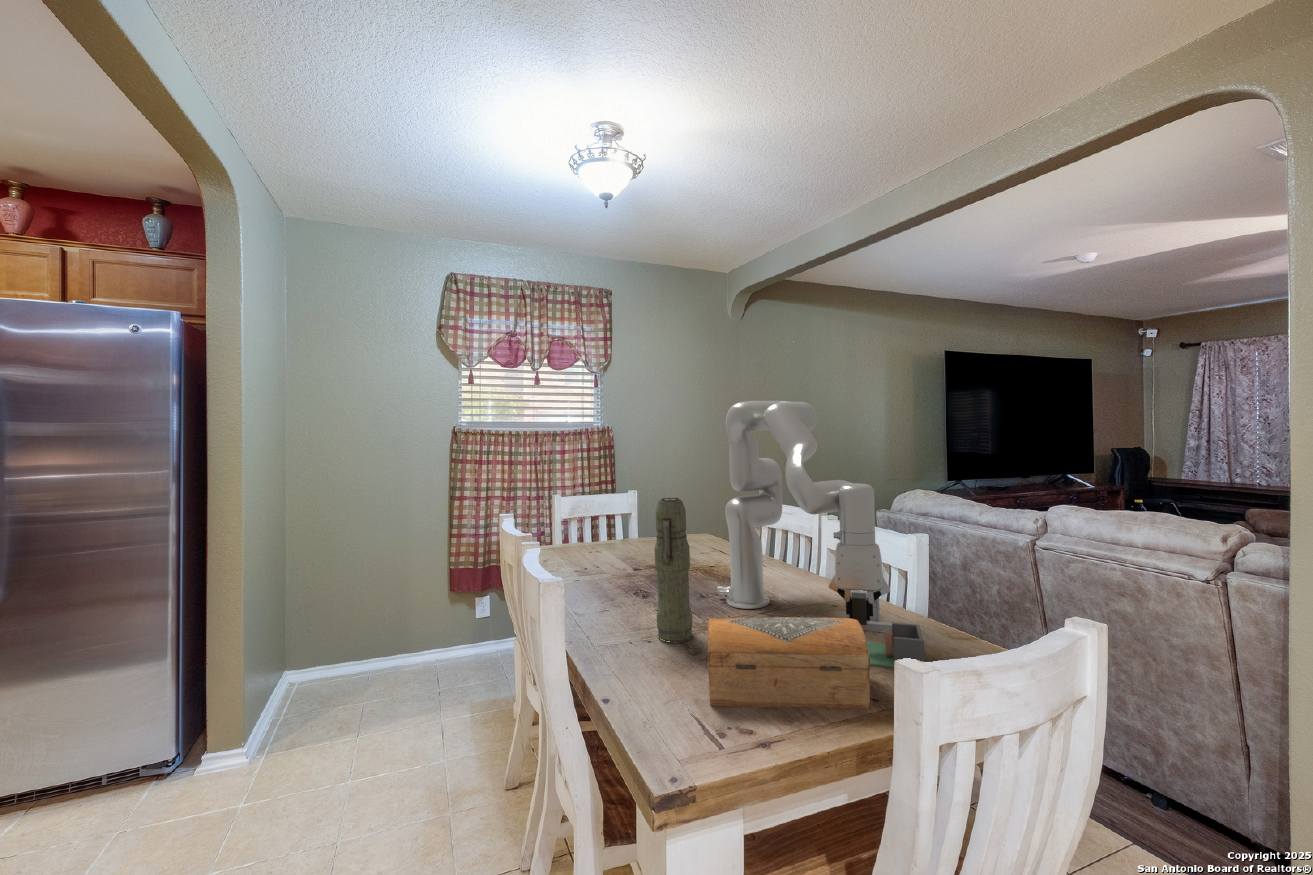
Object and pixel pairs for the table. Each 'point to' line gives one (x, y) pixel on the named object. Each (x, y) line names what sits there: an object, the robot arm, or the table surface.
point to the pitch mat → (879, 655)
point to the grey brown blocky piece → (861, 615)
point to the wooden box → (788, 662)
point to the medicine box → (875, 608)
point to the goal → (908, 641)
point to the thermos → (672, 571)
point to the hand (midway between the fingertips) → (859, 617)
